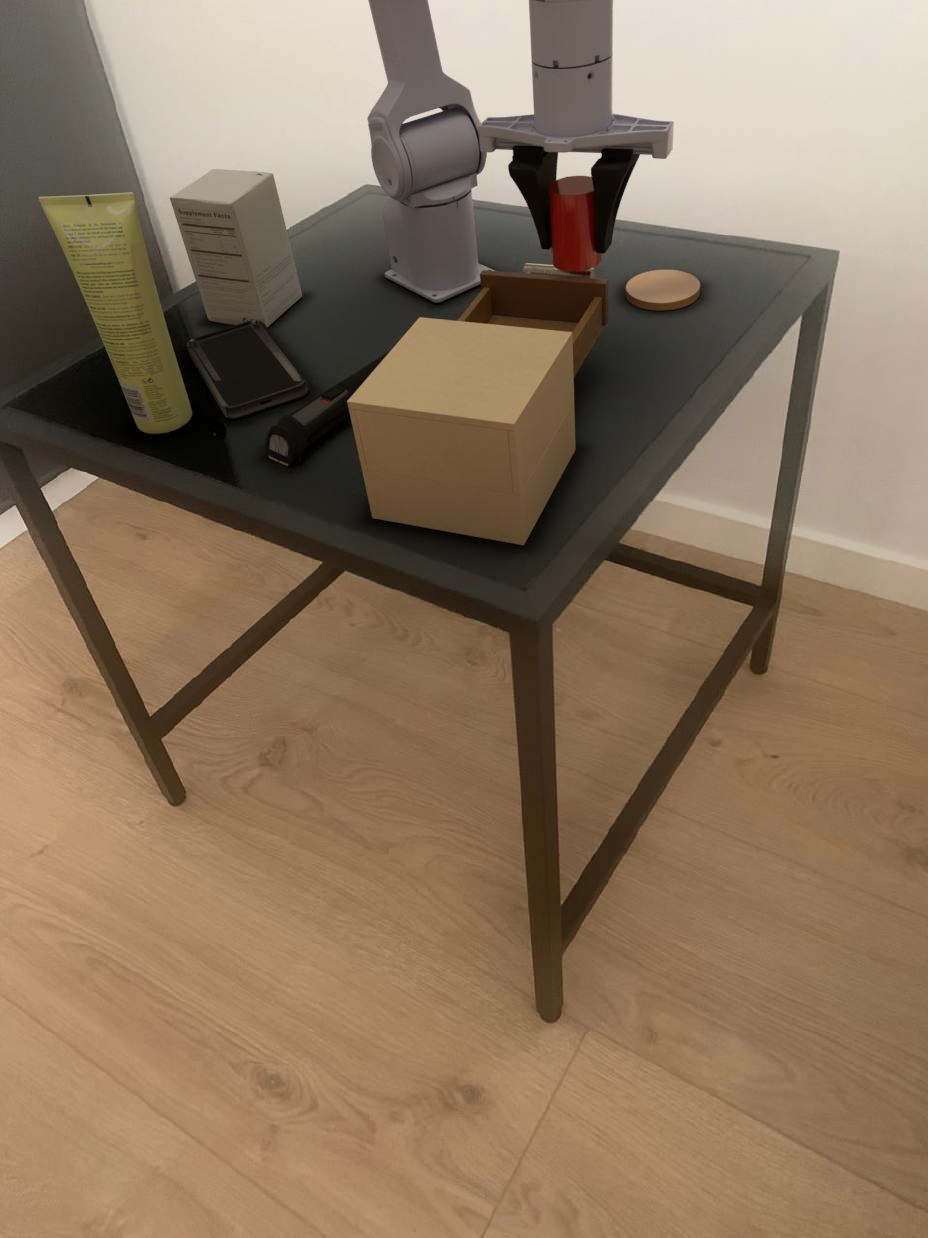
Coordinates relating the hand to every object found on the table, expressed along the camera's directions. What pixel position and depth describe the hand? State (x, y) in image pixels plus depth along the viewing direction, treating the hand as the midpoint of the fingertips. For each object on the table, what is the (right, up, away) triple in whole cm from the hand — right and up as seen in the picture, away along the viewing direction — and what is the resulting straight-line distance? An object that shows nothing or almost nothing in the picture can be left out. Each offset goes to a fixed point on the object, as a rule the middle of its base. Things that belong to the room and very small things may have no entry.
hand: (575, 246), depth 77 cm
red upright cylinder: (0, -1, +1) cm, 1 cm away
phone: (-29, -7, +12) cm, 32 cm away
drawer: (-3, -7, +1) cm, 8 cm away
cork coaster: (+10, +1, +15) cm, 18 cm away
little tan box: (-8, -20, -4) cm, 22 cm away
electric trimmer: (-20, -13, +5) cm, 24 cm away
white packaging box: (-30, +2, +21) cm, 37 cm away
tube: (-35, -13, +7) cm, 38 cm away
